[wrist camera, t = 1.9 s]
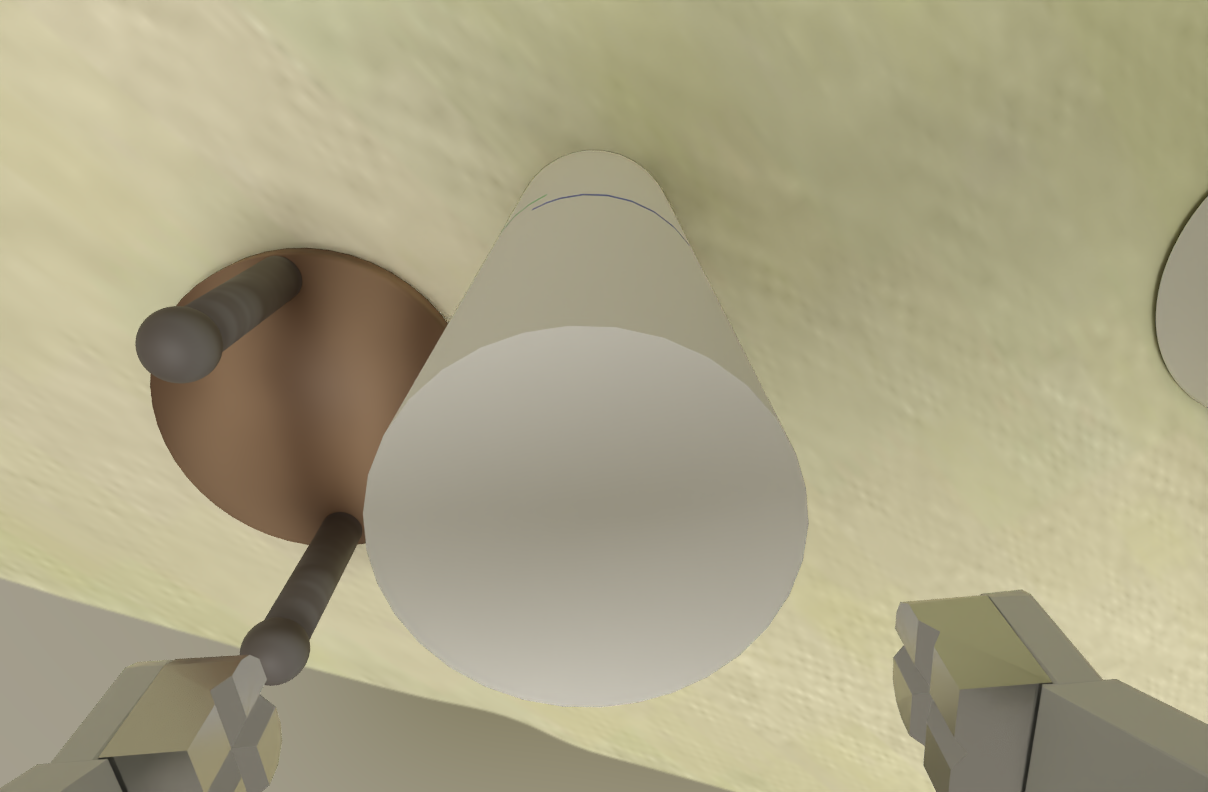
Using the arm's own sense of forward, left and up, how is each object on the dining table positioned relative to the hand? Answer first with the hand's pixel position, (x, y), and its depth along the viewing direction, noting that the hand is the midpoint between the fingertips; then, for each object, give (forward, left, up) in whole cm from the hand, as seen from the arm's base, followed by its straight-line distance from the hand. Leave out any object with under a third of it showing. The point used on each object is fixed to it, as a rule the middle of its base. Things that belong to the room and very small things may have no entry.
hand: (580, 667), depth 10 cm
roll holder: (+14, +7, -28) cm, 32 cm away
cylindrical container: (0, 0, -28) cm, 28 cm away
